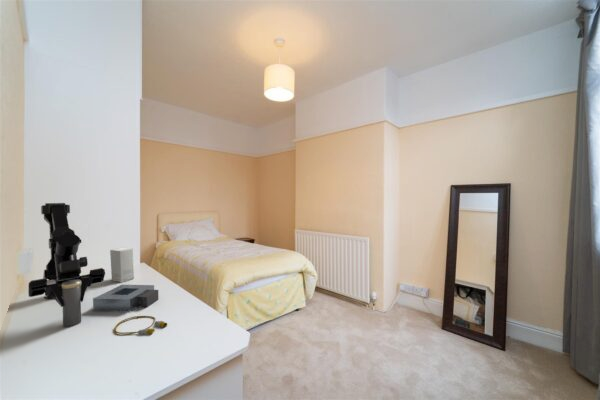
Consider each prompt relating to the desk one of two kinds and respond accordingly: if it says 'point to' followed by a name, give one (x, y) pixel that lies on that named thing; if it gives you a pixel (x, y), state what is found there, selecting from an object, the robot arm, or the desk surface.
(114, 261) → the skincare box
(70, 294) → the plug
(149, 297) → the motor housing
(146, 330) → the extension cord
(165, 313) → the desk surface
